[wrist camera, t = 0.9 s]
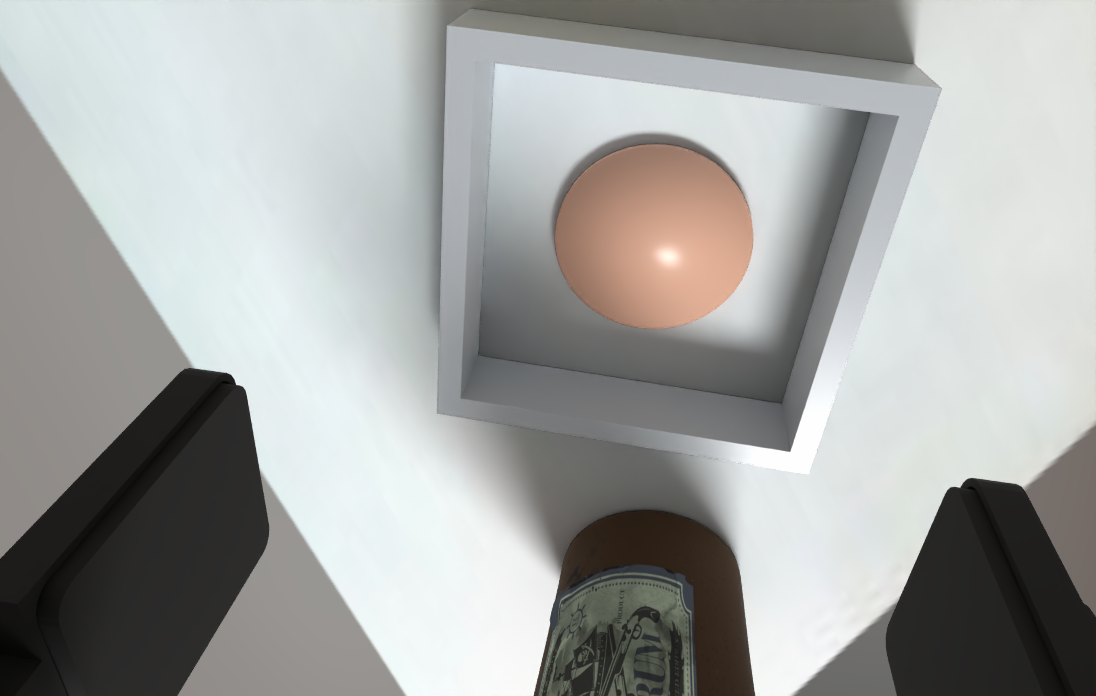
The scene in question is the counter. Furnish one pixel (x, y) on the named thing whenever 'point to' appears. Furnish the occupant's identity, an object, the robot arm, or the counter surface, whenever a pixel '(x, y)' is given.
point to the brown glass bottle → (647, 613)
